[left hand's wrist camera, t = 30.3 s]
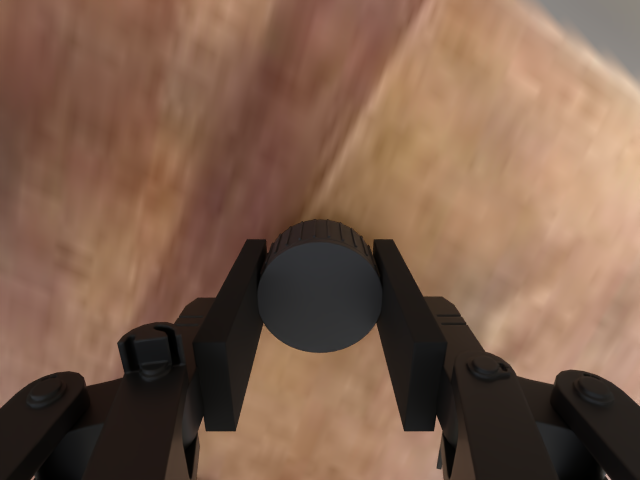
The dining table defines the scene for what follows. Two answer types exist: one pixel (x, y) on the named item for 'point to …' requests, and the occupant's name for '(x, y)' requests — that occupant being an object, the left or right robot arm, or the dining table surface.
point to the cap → (319, 287)
